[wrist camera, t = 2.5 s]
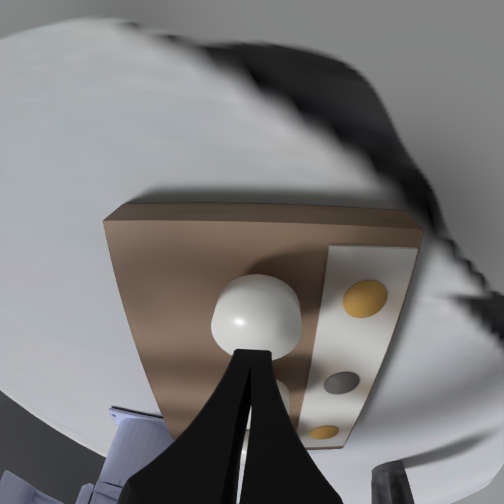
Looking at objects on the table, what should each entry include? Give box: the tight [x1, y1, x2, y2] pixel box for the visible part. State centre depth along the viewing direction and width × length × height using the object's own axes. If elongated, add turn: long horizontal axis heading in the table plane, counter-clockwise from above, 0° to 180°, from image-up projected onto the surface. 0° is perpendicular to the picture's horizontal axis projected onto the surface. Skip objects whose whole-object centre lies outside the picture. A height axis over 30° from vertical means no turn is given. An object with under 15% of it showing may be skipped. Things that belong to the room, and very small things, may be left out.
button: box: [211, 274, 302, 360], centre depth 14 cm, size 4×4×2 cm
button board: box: [103, 203, 424, 450], centre depth 20 cm, size 22×16×3 cm
